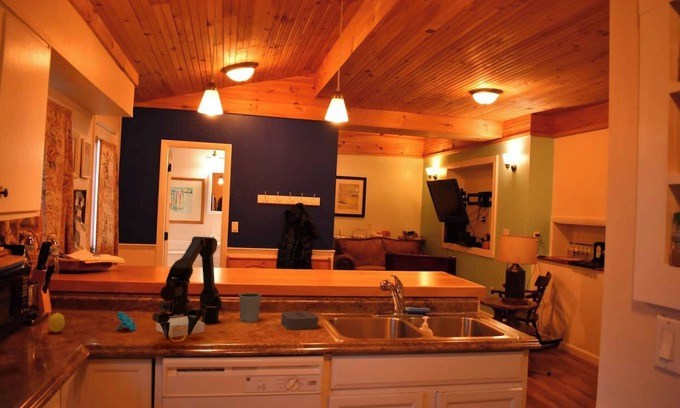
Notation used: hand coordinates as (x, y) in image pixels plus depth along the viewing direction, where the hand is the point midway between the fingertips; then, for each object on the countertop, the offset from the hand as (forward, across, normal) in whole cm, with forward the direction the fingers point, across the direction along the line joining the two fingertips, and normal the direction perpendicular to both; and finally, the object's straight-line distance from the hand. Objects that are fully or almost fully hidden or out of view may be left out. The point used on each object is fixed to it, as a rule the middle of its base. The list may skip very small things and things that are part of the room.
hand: (177, 337), depth 184 cm
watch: (+2, 0, 0) cm, 2 cm away
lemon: (+2, +31, -38) cm, 49 cm away
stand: (+2, -8, -13) cm, 15 cm away
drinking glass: (+2, -42, -12) cm, 44 cm away
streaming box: (+2, -54, +9) cm, 55 cm away
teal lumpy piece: (+2, +8, -27) cm, 28 cm away
